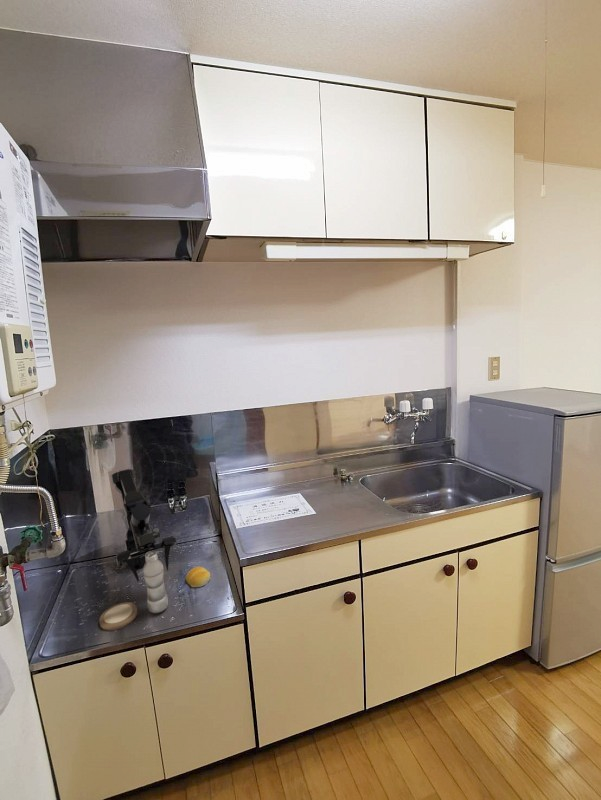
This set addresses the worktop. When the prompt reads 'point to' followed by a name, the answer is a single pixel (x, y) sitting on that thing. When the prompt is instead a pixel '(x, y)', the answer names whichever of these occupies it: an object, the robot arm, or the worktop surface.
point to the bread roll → (198, 577)
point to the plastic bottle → (154, 583)
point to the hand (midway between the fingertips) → (153, 575)
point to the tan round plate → (118, 616)
